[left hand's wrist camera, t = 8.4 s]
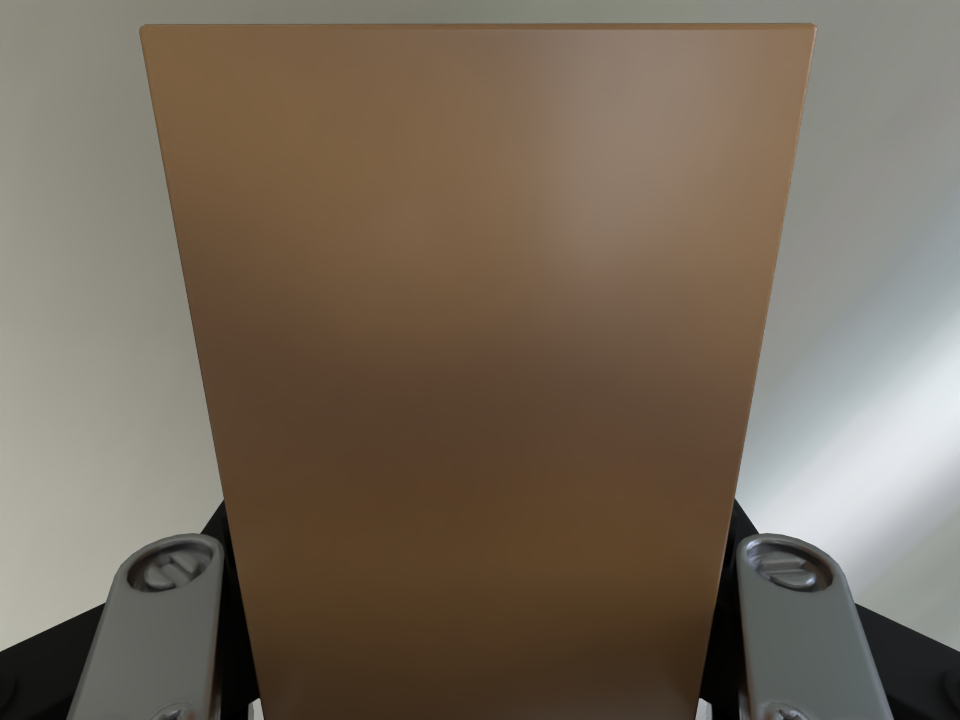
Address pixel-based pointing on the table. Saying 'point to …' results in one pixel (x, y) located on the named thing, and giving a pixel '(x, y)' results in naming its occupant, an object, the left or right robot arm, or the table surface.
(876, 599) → the table surface
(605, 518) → the bar
